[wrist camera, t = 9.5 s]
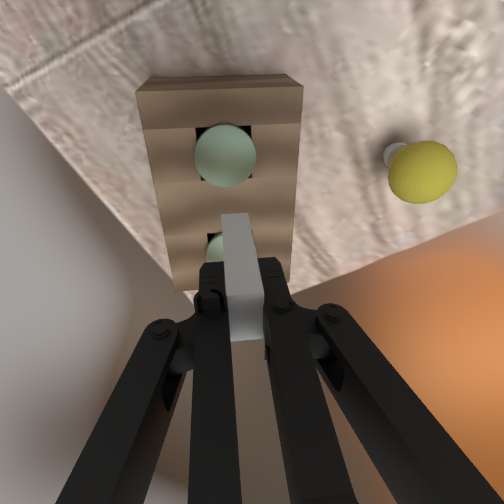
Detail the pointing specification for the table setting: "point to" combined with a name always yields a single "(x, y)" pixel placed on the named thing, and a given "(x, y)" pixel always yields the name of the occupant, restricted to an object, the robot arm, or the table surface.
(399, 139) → the table surface
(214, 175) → the near plunger
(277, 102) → the socket block
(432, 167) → the yellow light bulb
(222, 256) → the far plunger
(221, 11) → the table surface
